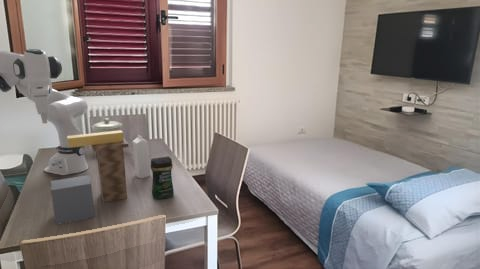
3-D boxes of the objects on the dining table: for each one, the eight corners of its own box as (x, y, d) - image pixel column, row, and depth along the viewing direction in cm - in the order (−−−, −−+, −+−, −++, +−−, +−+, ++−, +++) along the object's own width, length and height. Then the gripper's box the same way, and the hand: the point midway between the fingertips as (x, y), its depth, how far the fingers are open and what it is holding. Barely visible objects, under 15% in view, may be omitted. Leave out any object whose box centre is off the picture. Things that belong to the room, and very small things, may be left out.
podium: (56, 224, 134) (50, 190, 130) (55, 213, 142) (50, 181, 139) (94, 216, 140) (91, 183, 136) (92, 206, 149) (88, 175, 145)
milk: (139, 178, 180) (136, 137, 174) (135, 175, 184) (131, 135, 178) (150, 175, 183) (147, 135, 177) (146, 172, 188) (143, 133, 182)
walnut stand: (99, 205, 150) (93, 147, 143) (95, 193, 162) (90, 139, 155) (132, 198, 157) (128, 143, 150) (126, 187, 168) (122, 135, 162)
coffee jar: (155, 201, 154) (152, 162, 149) (150, 194, 161) (148, 156, 156) (176, 197, 159) (174, 158, 154) (170, 190, 165) (168, 153, 160)
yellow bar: (68, 147, 143) (67, 138, 142) (68, 145, 147) (67, 136, 146) (123, 141, 153) (123, 132, 152) (122, 138, 157) (121, 130, 156)
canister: (99, 146, 234) (95, 115, 229) (126, 145, 236) (124, 115, 231) (90, 154, 217) (87, 121, 211) (120, 153, 219) (117, 121, 213)
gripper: (32, 86, 154) (37, 117, 157) (30, 92, 136) (36, 126, 140) (48, 85, 156) (53, 115, 160) (48, 91, 139) (53, 124, 143)
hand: (45, 121), depth 150 cm, fingers open, 8 cm apart
